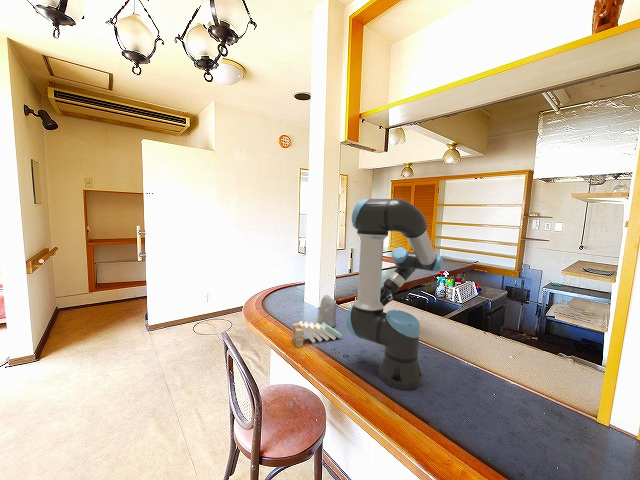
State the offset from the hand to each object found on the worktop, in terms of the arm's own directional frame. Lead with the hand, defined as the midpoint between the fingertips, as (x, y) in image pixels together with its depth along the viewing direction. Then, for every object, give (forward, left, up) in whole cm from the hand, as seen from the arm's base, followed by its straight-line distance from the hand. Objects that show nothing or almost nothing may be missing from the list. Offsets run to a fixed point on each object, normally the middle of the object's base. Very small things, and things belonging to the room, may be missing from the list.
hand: (363, 318), depth 131 cm
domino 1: (0, +26, -7) cm, 27 cm away
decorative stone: (+15, +13, -8) cm, 22 cm away
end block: (0, +33, -8) cm, 34 cm away
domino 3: (0, +19, -7) cm, 20 cm away
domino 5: (0, +12, -7) cm, 14 cm away
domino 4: (0, +16, -7) cm, 17 cm away
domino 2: (0, +22, -7) cm, 24 cm away
